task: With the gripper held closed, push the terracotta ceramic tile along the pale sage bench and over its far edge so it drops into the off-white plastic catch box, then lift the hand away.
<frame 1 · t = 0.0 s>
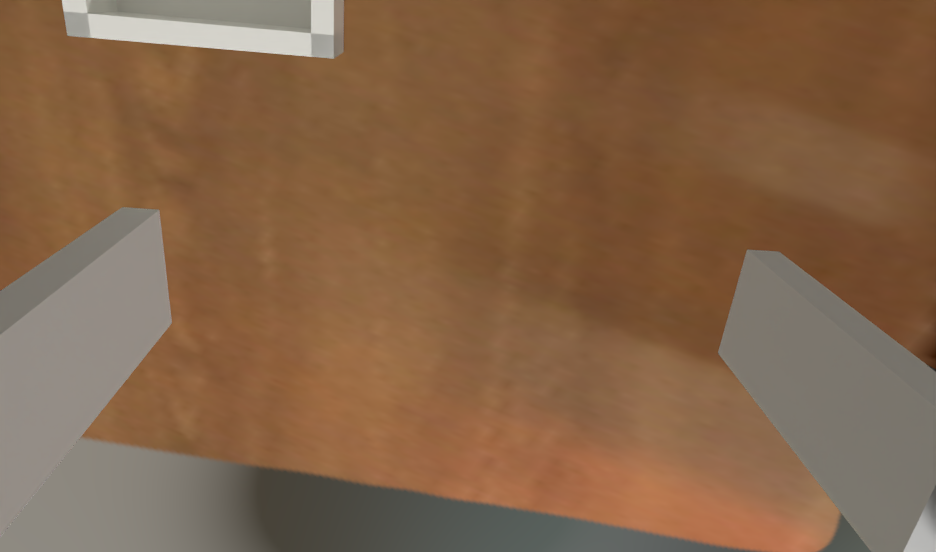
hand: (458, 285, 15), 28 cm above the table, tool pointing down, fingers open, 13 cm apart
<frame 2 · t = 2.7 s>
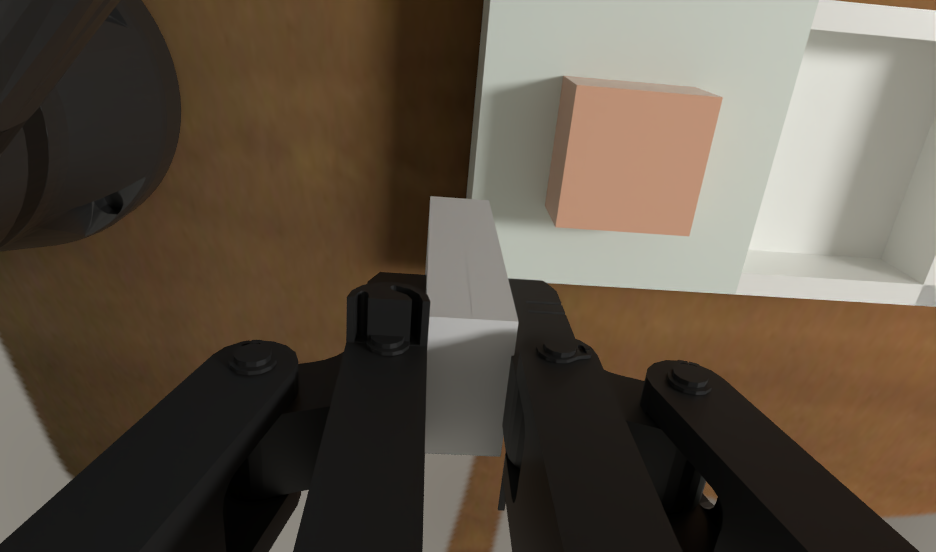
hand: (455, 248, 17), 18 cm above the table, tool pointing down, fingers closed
tile: (617, 148, 30), point 4 cm above the table, touching bench
catch box: (836, 149, 34), on the table
bench: (607, 131, 33), on the table
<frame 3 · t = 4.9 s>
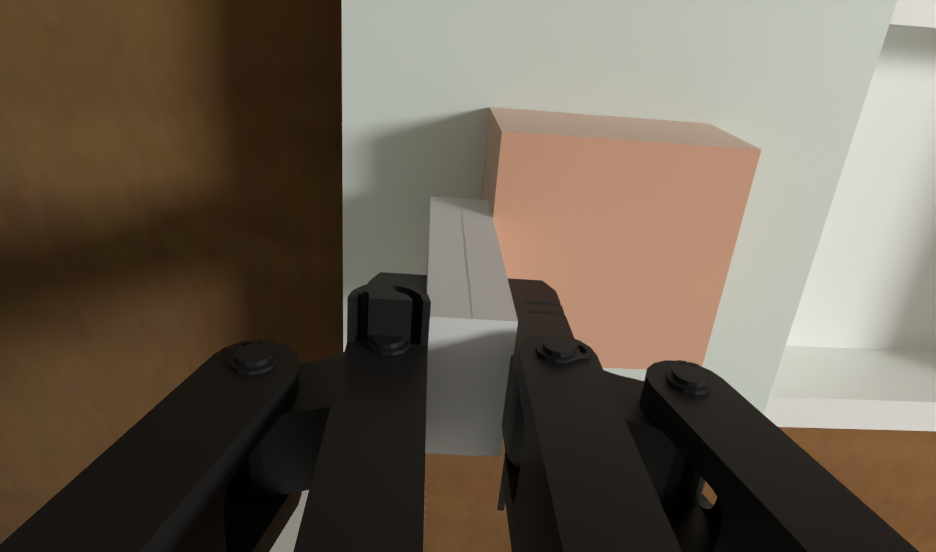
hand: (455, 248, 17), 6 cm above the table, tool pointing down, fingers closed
tile: (583, 221, 18), point 4 cm above the table, touching bench, gripper
catch box: (905, 202, 23), on the table
bench: (563, 182, 22), on the table
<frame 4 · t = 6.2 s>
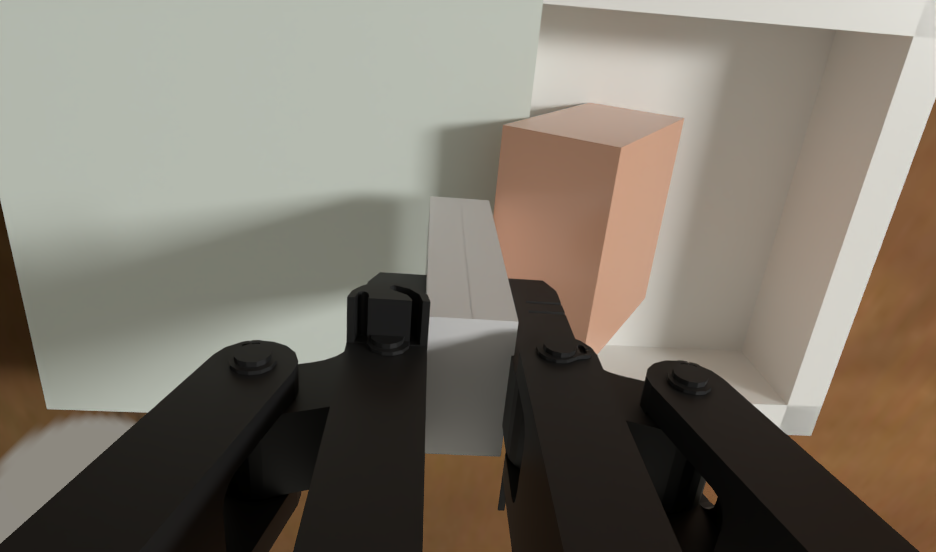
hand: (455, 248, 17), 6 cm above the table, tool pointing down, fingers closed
tile: (538, 213, 19), point 3 cm above the table, tilted 56°, touching catch box
catch box: (658, 194, 22), on the table
bench: (294, 170, 21), on the table
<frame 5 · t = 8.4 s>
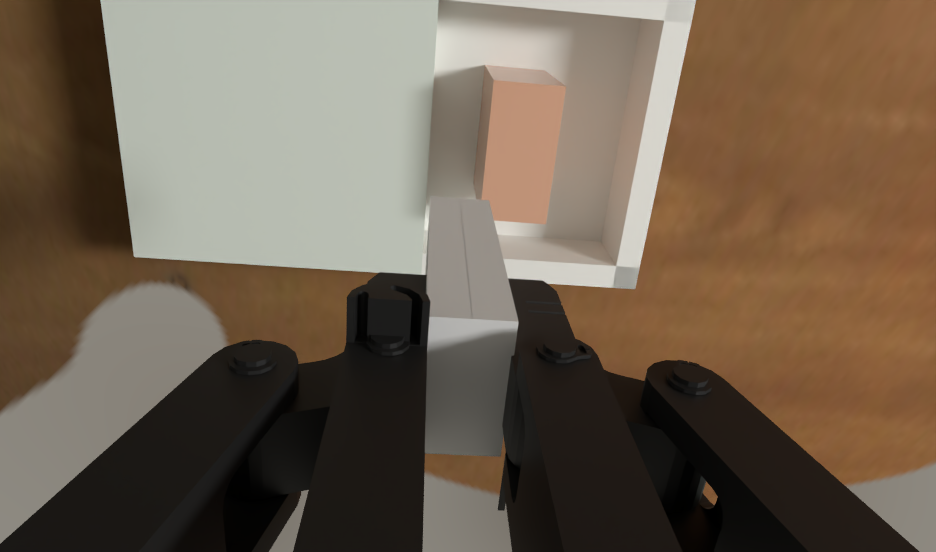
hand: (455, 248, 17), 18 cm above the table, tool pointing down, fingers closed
tile: (482, 138, 30), point 3 cm above the table, tilted 90°, touching catch box
catch box: (536, 128, 34), on the table
bench: (293, 109, 33), on the table
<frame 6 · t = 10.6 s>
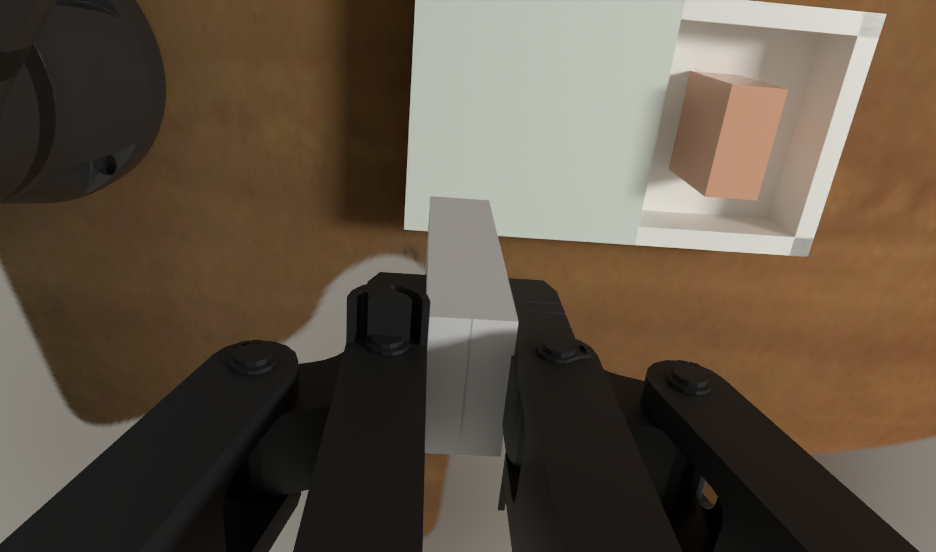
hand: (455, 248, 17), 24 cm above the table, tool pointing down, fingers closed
tile: (697, 131, 37), point 3 cm above the table, tilted 90°, touching catch box
catch box: (723, 123, 40), on the table
bench: (526, 107, 39), on the table
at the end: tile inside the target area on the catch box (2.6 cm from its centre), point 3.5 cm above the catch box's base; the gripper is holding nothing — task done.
